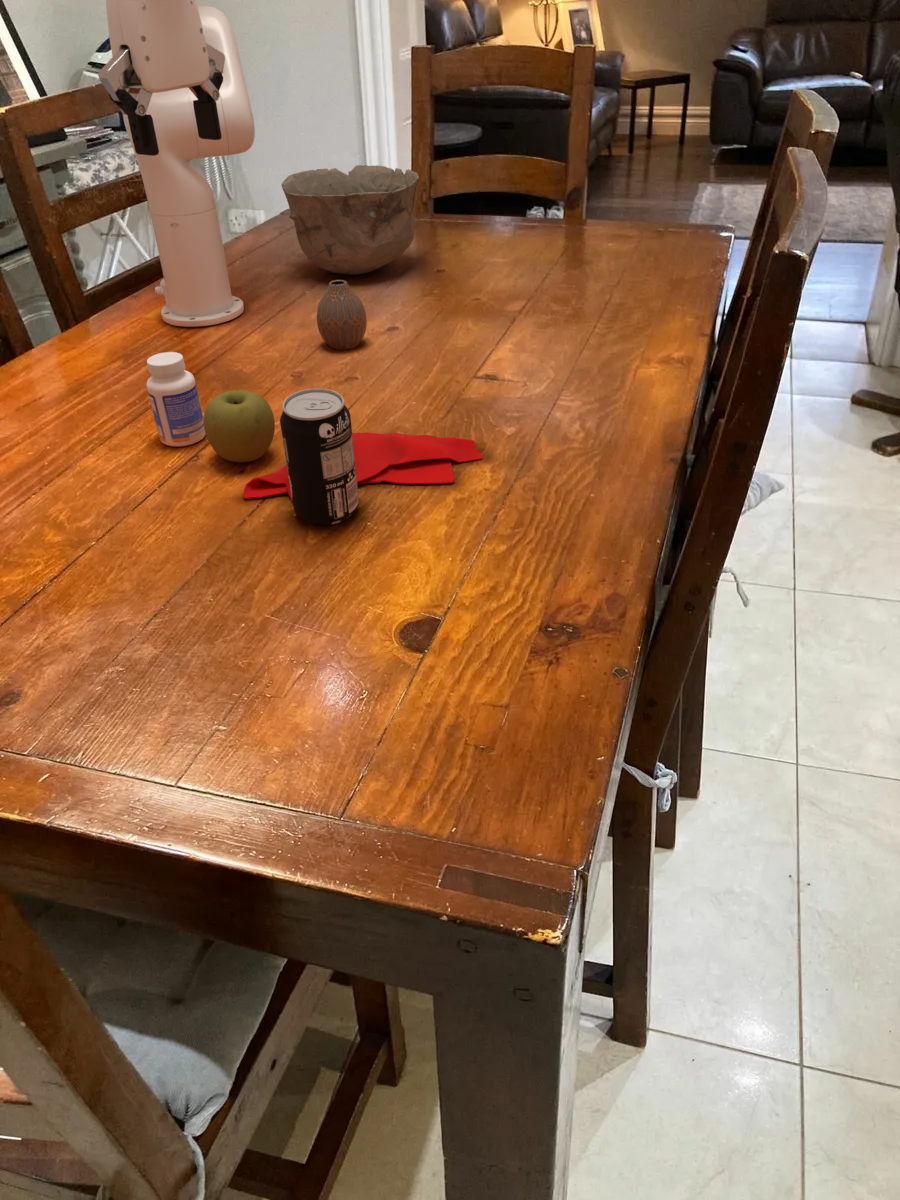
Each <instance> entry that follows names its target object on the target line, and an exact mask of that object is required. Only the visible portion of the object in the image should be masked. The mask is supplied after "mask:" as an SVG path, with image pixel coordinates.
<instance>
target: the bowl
mask: <svg viewBox="0 0 900 1200" xmlns="http://www.w3.org/2000/svg"><path fill="white" fill-rule="evenodd" d="M347 172H348V173H345V172H342V171H341V170H339V169H338V168H336V167H335V168H334V167H333V168H330V169H328V168H317V169H310V170H303V171H299V172H296V173H295V172H294V173H292V174H290V175H288V176H287V177H286V178H285V179H284V180H283V181H282V183H281V188H282V191H283V193H284V195H285V198H286V201H287V204H288V207H289V211H290V214H289V216H288V218H289V219H291V220H292V221H293V223H294V227H295V233H296V238H297V241H298V244H299V247H300V249H301V251H302V253H303V254H304V255H305V256H306V258H307V259H308V260H309V261H310V262H311V263H312V264H313V265H315V266H316V267H318V268H320V269H322V270H324V271H327V272H329V273H333V274H339V275H347V276H357V275H358V276H359V275H365V274H367V273H368V274H369V273H371V272H373V271H375V270H377V269H380V268H381V267H383V266H385V265H388V264H389V263H391V262H392V261H394V260H395V259H397V258H398V257H400V256H402V255H403V254H404V253H405V252H406V250H407V249H408V248H409V247H410V246H411V245H412V243H413V240H414V239H415V230H416V229H415V228H416V214H417V200H418V196H417V195H418V194H417V193H418V187H419V182H420V176H419V174H418V172H417V171H414V170H412V169H409V168H408V169H406V170H405V172H403V170H402V169H401V168H398V167H395V169H393V168H391V167H387V166H386V165H385V166H384V165H368V164H363V165H362V164H358V165H355V166H354V167H353V168H352V169H351V170H350V171H347Z"/></svg>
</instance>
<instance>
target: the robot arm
mask: <svg viewBox="0 0 900 1200" xmlns="http://www.w3.org/2000/svg"><path fill="white" fill-rule="evenodd" d="M105 3H106V4H105V5H106V18H107V19H106V21H107V28H108V29H107V30H108V37H109V44H110V50H111V56H112V57H111V58H110V59H109V60H108V61H107V63H106V64H105V65H104V66H103V67H102V68H101V69H100V70H99V71H98V73H97V74H98V80H99V81H100V82H101V84H102V85H103V87H104V89H105V90H106V92H107V93H108V96H109V99H110V100H111V101H112V103H114V104H115V105H116V106H117V108H119V110H120V112H121V114H122V119H123V123H124V127H125V130H126V133H127V137H128V139H129V142H130V145H131V147H132V150H133V153H134V157H135V158H136V162H137V166H138V168H139V172H140V175H141V179H142V183H143V186H144V187H143V188H144V191H145V195H146V200H147V204H148V209H149V214H150V218H151V224H152V228H153V232H154V238H155V242H156V247H157V252H158V256H159V261H160V267H161V270H162V271H161V272H162V275H163V278H162V279H161V280H160V283H159V285H156V286H154V287H155V288H154V294H155V295H156V296H160V297H164V301H165V305H164V306H163V307H162V308H161V310H160V315H161V319H162V321H163V322H165V323H166V324H168V325H171V326H175V327H181V328H197V327H198V328H200V327H208V326H214V325H218V324H219V325H220V324H223V323H226V322H229V321H232V320H234V319H237V317H240V315H242V313H243V312H244V310H245V305H244V301H243V300H242V299H241V298H240V297H238V296H234V295H233V294H232V290H231V283H230V277H229V272H228V271H229V270H228V266H227V261H226V260H227V259H226V254H225V249H224V248H225V247H224V244H223V237H222V231H221V225H220V219H219V213H218V208H217V207H218V206H217V203H216V202H217V201H216V196H215V193H214V190H213V188H212V186H211V185H210V183H209V181H208V180H207V178H205V177H204V176H203V175H202V174H201V173H200V172H199V171H197V169H196V168H194V167H193V165H191V163H190V162H191V161H193V160H198V159H203V158H213V157H215V158H216V157H223V156H233V155H240V154H243V153H246V152H247V151H249V150H250V149H252V147H253V145H254V142H255V134H256V131H255V119H254V115H253V109H252V105H251V100H250V95H249V91H248V88H247V83H246V79H245V75H244V69H243V67H242V66H243V65H242V61H241V58H240V53H239V47H238V44H237V41H236V37H235V34H234V30H233V28H232V25H231V23H230V21H229V19H228V18H227V16H226V14H224V12H223V11H222V10H220V9H219V8H217V7H214V6H210V5H198V4H197V1H196V0H105Z"/></svg>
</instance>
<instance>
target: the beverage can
mask: <svg viewBox="0 0 900 1200" xmlns="http://www.w3.org/2000/svg"><path fill="white" fill-rule="evenodd" d="M281 408H282V412H281V415H280V417H279V425H280V431H281V437H282V444H283V450H284V456H285V463H286V465H287V470H288V476H289V483H290V489H291V495H292V500H291V503H292V502H293V503H292V508H293V510H294V512H295V514H296V515H297V516H298V517H300V518H301V519H302V520H304V521H305V522H307V523H309V524H312V525H317V526H329V525H330V526H331V525H335V524H338V523H341V522H343V521H345V520H347V519H349V518H350V517H351V516H352V515H353V513H354V512H355V511H356V510H357V508H358V507H359V503H360V497H359V488H358V486H359V485H358V484H357V476H356V466H355V457H354V447H353V437H352V433H353V428H352V418H351V413H350V410H349V408H348V407H347V406H346V405H345V399H344V396H342V394H341V393H339V392H338V391H336V390H332V389H328V388H306V389H302V390H298V391H296V392H294V393H292V394H289V395H288V396H287V397H286V398H285V399H284V400H283V402H282V405H281Z"/></svg>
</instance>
